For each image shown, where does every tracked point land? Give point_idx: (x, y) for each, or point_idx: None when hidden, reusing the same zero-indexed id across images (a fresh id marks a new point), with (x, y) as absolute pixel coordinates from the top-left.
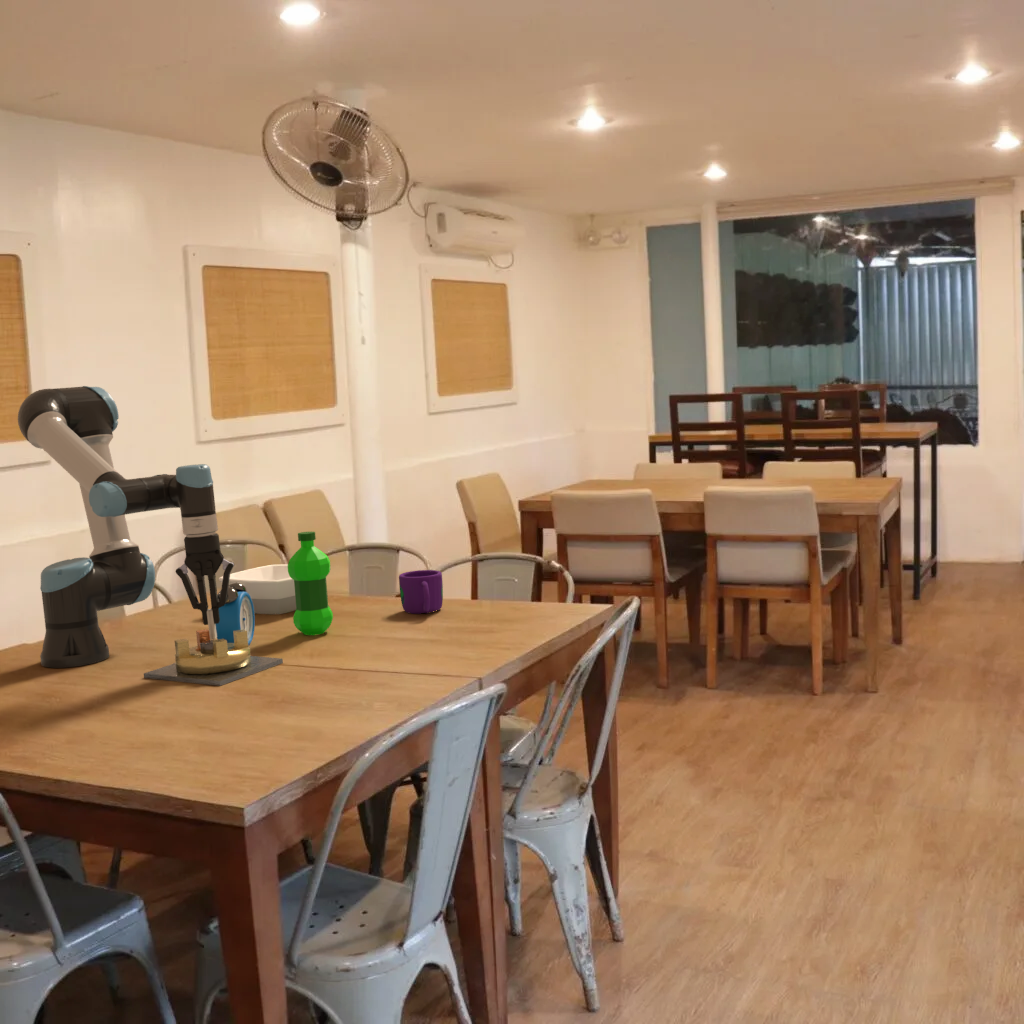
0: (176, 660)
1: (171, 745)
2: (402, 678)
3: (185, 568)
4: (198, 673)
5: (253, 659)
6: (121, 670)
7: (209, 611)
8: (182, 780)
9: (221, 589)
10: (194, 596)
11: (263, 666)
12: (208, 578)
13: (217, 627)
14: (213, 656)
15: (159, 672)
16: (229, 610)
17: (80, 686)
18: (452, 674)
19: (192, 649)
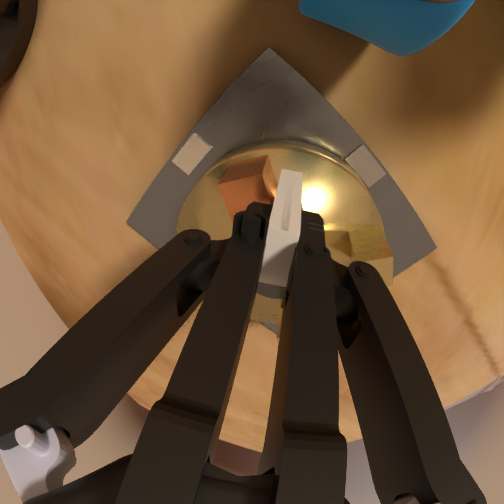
0: None
1: (235, 423)
2: (471, 369)
3: (56, 480)
4: None
5: (384, 220)
6: (70, 127)
7: (272, 282)
8: (247, 443)
9: (350, 390)
10: (175, 328)
11: None
12: (261, 467)
13: (310, 16)
14: (278, 306)
15: (157, 230)
16: (394, 13)
17: (52, 224)
18: (499, 367)
19: (218, 204)
